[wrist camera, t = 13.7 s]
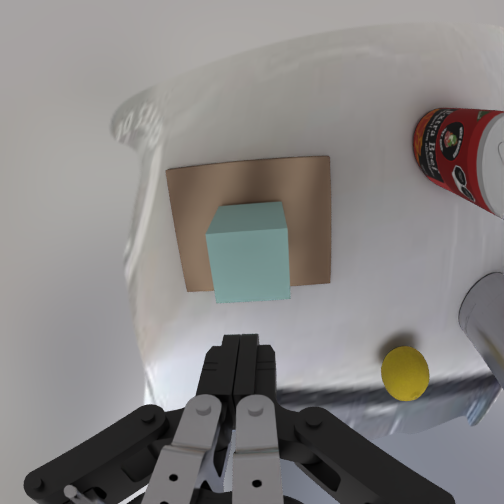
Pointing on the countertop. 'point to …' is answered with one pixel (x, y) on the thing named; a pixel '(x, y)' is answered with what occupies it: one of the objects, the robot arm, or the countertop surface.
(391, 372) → the lemon
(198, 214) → the stand
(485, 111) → the canned food
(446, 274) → the countertop surface
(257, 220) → the mint foam cube
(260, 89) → the countertop surface
